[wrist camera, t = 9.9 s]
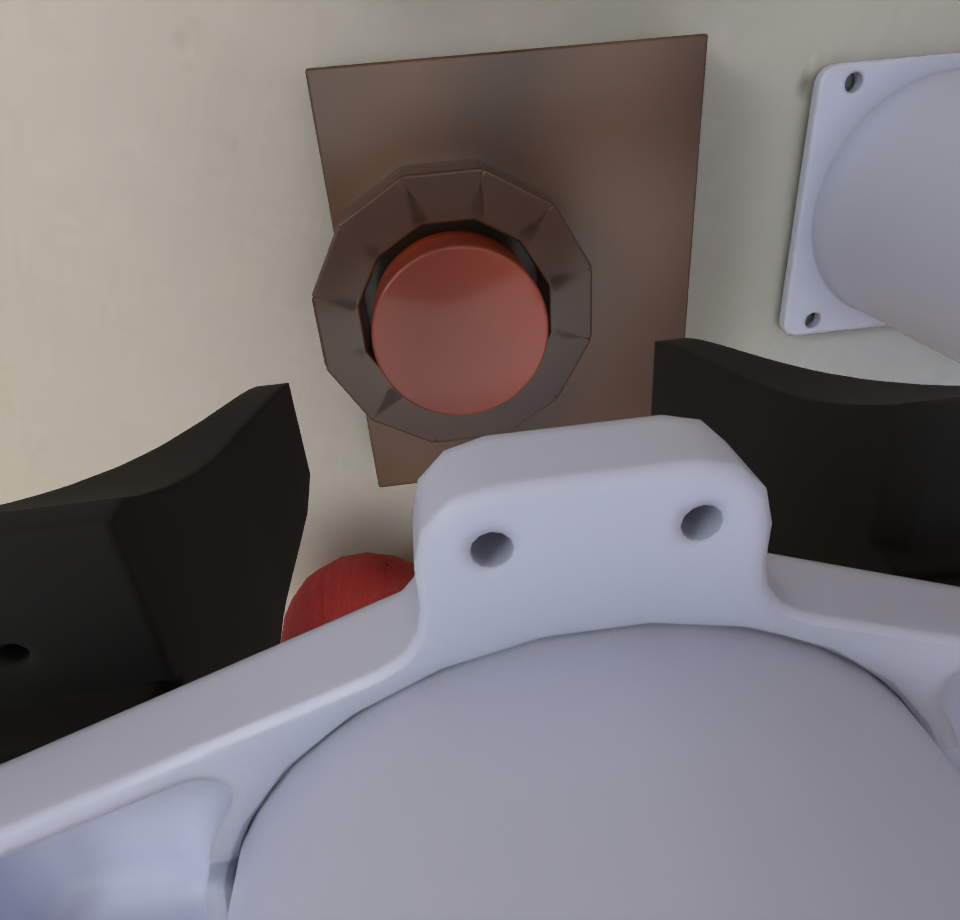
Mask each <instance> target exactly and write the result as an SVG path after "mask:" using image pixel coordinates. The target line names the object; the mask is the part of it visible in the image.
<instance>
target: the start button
mask: <svg viewBox="0 0 960 920" xmlns="http://www.w3.org/2000/svg"><path fill="white" fill-rule="evenodd" d="M548 327H549V326H548V315H547V311H546V307H545V303H544V300H543V298H542V295H541V293H540V291H539V289H538V288H537V286H536V284H535V282H534V281H533V279H532V278H531V276H530V275H529V273H528V271H527V270H526V268H525V267H524V265H523V264H522V263H521V262H520V260H519V259H518V258H517V257H516V256H515V255H514V254H513V253H512V252H511V251H510V250H509V249H508V248H506V247H505V246H504V245H502V244H501V243H499V242H497V241H495V240H494V239H492V238H489V237H487V236H484V235H482V234H478V233H474V232H468V231H445V232H439V233H435V234H432V235H429V236H426V237H424V238H421V239H419V240H417V241H415V242H414V243H412V244H411V245H409V246H407V247H406V248H405V249H404V250H402V251H401V252H400V253H399V254H398V255H397V256H396V257H395V258H394V259H393V260H392V261H391V263H390V264H389V265H388V267H387V268H386V270H385V271H384V273H383V275H382V277H381V279H380V281H379V284H378V287H377V290H376V293H375V299H374V306H373V317H372V333H371V335H372V345H373V350H374V354H375V357H376V360H377V363H378V365H379V367H380V369H381V371H382V373H383V375H384V376H385V378H386V379H387V380H388V382H389V383H390V385H391V386H392V387H393V388H394V389H395V390H396V391H397V392H398V393H399V394H400V395H402V396H403V397H404V398H405V399H407V400H408V401H410V402H412V403H413V404H415V405H417V406H419V407H421V408H423V409H426V410H428V411H432V412H435V413H439V414H445V415H456V416H460V415H472V414H477V413H481V412H485V411H488V410H491V409H493V408H496V407H498V406H500V405H502V404H503V403H505V402H507V401H509V400H510V399H511V398H513V397H514V396H515V395H517V394H518V393H519V392H520V391H521V390H522V389H523V388H524V387H525V386H526V385H527V384H528V382H529V381H530V380H531V379H532V378H533V376H534V374H535V373H536V371H537V370H538V368H539V366H540V364H541V361H542V359H543V356H544V353H545V350H546V346H547V340H548Z"/></svg>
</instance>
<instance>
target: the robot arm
mask: <svg viewBox="0 0 960 920" xmlns="http://www.w3.org/2000/svg"><path fill="white" fill-rule="evenodd" d="M851 73H853V74H854V76H855V82H854V85H853V87H852V88H851V89H850V90H849V91H847V90H846V89H845V81H846V79H847V77H848V76H849V75H850V74H851ZM812 313H814V318H813V320H812V321H811V322H810V323H808V324H805V320H806V318H807V317H808V316H809V315H810V314H812ZM886 325H889V326H891V327H892V328H894V329H896V330H898V331H900V332H902V333H904V334H906V335H908V336H910V337H911V338H913V339H915V340H917V341H919V342H921V343H923V344H925V345H927V346H928V347H930V348H932V349H934V350H936V351H938V352H940V353H942V354H944V355H946V356H947V357H949V358H951V359H953V360H955V361H957V362H959V363H960V52H956V53H945V54H934V55H923V56H912V57H901V58H890V59H879V60H868V61H857V62H846V63H835V64H831V65H828V66H826V67H824V68H823V69H822V70H821V71H820V72H819V74H818V75H817V76H816V78H815V82H814V85H813V91H812V98H811V105H810V112H809V118H808V125H807V132H806V139H805V146H804V153H803V159H802V166H801V173H800V180H799V187H798V194H797V200H796V207H795V214H794V221H793V228H792V235H791V241H790V248H789V255H788V262H787V269H786V276H785V282H784V289H783V296H782V303H781V310H780V317H779V326H780V328H781V330H783V331H784V332H786V333H787V334H789V335H792V336H798V335H807V334H815V333H824V332H833V331H842V330H851V329H860V328H869V327H878V326H886ZM309 483H310V472H309V468H308V463H307V459H306V455H305V451H304V446H303V442H302V438H301V434H300V429H299V425H298V421H297V417H296V412H295V408H294V404H293V400H292V395H291V391H290V387H289V383H284V384H275V385H266V386H257V387H254V388H252V389H250V390H248V391H246V392H244V393H243V394H241V395H239V396H238V397H236V398H235V399H233V400H232V401H230V402H229V403H227V404H226V405H224V406H223V407H221V408H220V409H219V410H217V411H216V412H214V413H213V414H211V415H210V416H208V417H207V418H205V419H204V420H202V421H201V422H199V423H198V424H196V425H194V426H193V427H191V428H190V429H188V430H186V431H185V432H183V433H181V434H180V435H178V436H177V437H175V438H173V439H172V440H170V441H168V442H167V443H165V444H163V445H161V446H160V447H158V448H156V449H154V450H152V451H150V452H148V453H146V454H144V455H142V456H140V457H138V458H136V459H134V460H132V461H130V462H127V463H125V464H123V465H121V466H119V467H116V468H114V469H111V470H109V471H106V472H103V473H101V474H98V475H95V476H93V477H90V478H88V479H85V480H82V481H80V482H77V483H74V484H72V485H69V486H66V487H63V488H60V489H56V490H53V491H50V492H47V493H43V494H40V495H36V496H33V497H29V498H25V499H22V500H18V501H15V502H11V503H6V504H2V505H0V920H960V386H943V385H920V384H907V383H895V382H884V381H875V380H866V379H859V378H853V377H847V376H841V375H835V374H829V373H824V372H819V371H814V370H809V369H805V368H801V367H797V366H793V365H789V364H785V363H781V362H777V361H774V360H770V359H766V358H763V357H759V356H756V355H753V354H749V353H746V352H743V351H739V350H736V349H733V348H729V347H726V346H722V345H719V344H715V343H711V342H707V341H703V340H699V339H693V338H680V339H672V340H663V341H655V347H654V367H653V386H652V405H651V416H647V417H638V418H630V419H622V420H613V421H605V422H597V423H588V424H580V425H571V426H563V427H555V428H546V429H538V430H529V431H521V432H513V433H504V434H496V435H488V436H483V437H480V438H477V439H474V440H472V441H469V442H466V443H463V444H461V445H458V446H455V447H452V448H450V449H447V450H444V451H443V452H442V453H441V454H440V456H439V457H438V458H437V459H436V460H435V461H434V462H433V463H432V464H431V466H430V467H429V468H428V469H427V470H426V471H425V472H424V473H423V474H422V476H421V477H420V478H419V479H418V481H417V487H416V493H415V499H414V505H413V512H412V526H413V553H414V571H415V575H414V577H413V578H412V580H411V581H410V582H409V583H408V584H407V586H406V587H405V588H404V589H403V590H402V591H400V592H398V593H396V594H393V595H391V596H389V597H386V598H384V599H382V600H379V601H377V602H375V603H373V604H370V605H368V606H366V607H363V608H361V609H359V610H356V611H354V612H352V613H349V614H347V615H345V616H343V617H340V618H338V619H336V620H333V621H331V622H329V623H326V624H324V625H322V626H319V627H317V628H315V629H312V630H310V631H308V632H306V633H303V634H301V635H299V636H296V637H294V638H292V639H289V640H287V641H285V642H282V643H281V633H282V624H283V616H284V611H285V605H286V600H287V595H288V591H289V587H290V583H291V579H292V575H293V571H294V567H295V563H296V559H297V555H298V551H299V547H300V542H301V538H302V534H303V530H304V526H305V521H306V517H307V511H308V499H309Z"/></svg>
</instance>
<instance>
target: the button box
mask: <svg viewBox="0 0 960 920" xmlns="http://www.w3.org/2000/svg"><path fill="white" fill-rule="evenodd" d="M707 39H708V36H707V34H695V35H683V36H672V37H660V38H649V39H638V40H626V41H615V42H603V43H592V44H581V45H569V46H558V47H546V48H535V49H524V50H512V51H501V52H489V53H478V54H467V55H455V56H444V57H432V58H421V59H410V60H398V61H387V62H375V63H364V64H352V65H341V66H330V67H318V68H307V69H306V71H305V73H306V78H307V84H308V90H309V95H310V101H311V107H312V112H313V118H314V123H315V129H316V135H317V140H318V146H319V152H320V157H321V163H322V169H323V174H324V180H325V186H326V191H327V197H328V203H329V208H330V214H331V219H332V225H333V231H334V236H333V239H332V241H331V244H330V247H329V249H328V252H327V255H326V258H325V260H324V263H323V266H322V269H321V271H320V274H319V277H318V280H317V282H316V285H315V288H314V291H313V293H312V296H313V298H312V302H313V307H314V312H315V317H316V322H317V327H318V332H319V337H320V342H321V347H322V352H323V357H324V362H325V365H326V367H327V370H328V372H329V373H330V374H331V375H332V376H333V377H334V378H335V379H336V381H337V382H338V383H339V384H340V385H341V386H342V387H343V388H344V390H345V391H346V392H347V393H348V394H349V395H350V396H351V397H352V399H353V400H354V401H355V402H356V403H357V404H358V405H359V406H360V408H361V409H362V410H363V411H364V412H365V413H366V417H367V423H368V428H369V434H370V440H371V445H372V451H373V457H374V462H375V468H376V473H377V479H378V485H379V487H386V486H394V485H402V484H411V483H417V481H418V479H419V478H420V477H421V476H422V474H423V473H424V472H425V471H426V470H427V469H428V468H429V467H430V466H431V464H432V463H433V462H434V461H435V460H436V459H437V458H438V457H439V456H440V454H441V453H442V452H443V451H444V450H447V449H450V448H452V447H455V446H458V445H461V444H463V443H466V442H469V441H472V440H474V439H477V438H480V437H483V436H488V435H496V434H504V433H513V432H521V431H529V430H538V429H546V428H555V427H563V426H571V425H580V424H588V423H597V422H605V421H613V420H622V419H630V418H638V417H647V416H651V405H652V386H653V367H654V347H655V341H663V340H672V339H680V338H685V327H686V314H687V301H688V288H689V274H690V261H691V248H692V235H693V222H694V209H695V196H696V183H697V170H698V157H699V144H700V131H701V117H702V104H703V91H704V78H705V65H706V52H707ZM445 231H468V232H474V233H478V234H482V235H484V236H487V237H489V238H492V239H494V240H495V241H497V242H499V243H501V244H502V245H504V246H505V247H506V248H508V249H509V250H510V251H511V252H512V253H513V254H514V255H515V256H516V257H517V258H518V259H519V260H520V262H521V263H522V264H523V265H524V267H525V268H526V270H527V271H528V273H529V275H530V276H531V278H532V279H533V281H534V282H535V284H536V286H537V288H538V289H539V291H540V293H541V295H542V298H543V300H544V303H545V307H546V311H547V315H548V326H549V327H548V340H547V346H546V350H545V353H544V356H543V359H542V361H541V364H540V366H539V368H538V370H537V371H536V373H535V374H534V376H533V378H532V379H531V380H530V381H529V382H528V384H527V385H526V386H525V387H524V388H523V389H522V390H521V391H520V392H519V393H518V394H517V395H515V396H514V397H513V398H511V399H510V400H509V401H507V402H505V403H503V404H502V405H500V406H498V407H496V408H493V409H491V410H488V411H485V412H481V413H477V414H472V415H460V416H456V415H445V414H439V413H435V412H432V411H428V410H426V409H423V408H421V407H419V406H417V405H415V404H413V403H412V402H410V401H408V400H407V399H405V398H404V397H403V396H402V395H400V394H399V393H398V392H397V391H396V390H395V389H394V388H393V387H392V386H391V385H390V383H389V382H388V380H387V379H386V378H385V376H384V375H383V373H382V371H381V369H380V367H379V365H378V363H377V360H376V357H375V354H374V350H373V345H372V335H371V333H372V317H373V306H374V299H375V293H376V290H377V287H378V284H379V281H380V279H381V277H382V275H383V273H384V271H385V270H386V268H387V267H388V265H389V264H390V263H391V261H392V260H393V259H394V258H395V257H396V256H397V255H398V254H399V253H400V252H401V251H402V250H404V249H405V248H406V247H407V246H409V245H411V244H412V243H414V242H415V241H417V240H419V239H421V238H424V237H426V236H429V235H432V234H435V233H439V232H445Z"/></svg>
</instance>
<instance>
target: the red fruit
mask: <svg viewBox="0 0 960 920" xmlns="http://www.w3.org/2000/svg"><path fill="white" fill-rule="evenodd" d="M414 575H415V571H414V564H412V563H410V562H407V561H405V560H403V559H400V558H398V557H395V556H390V555H382V554H375V553H362V554H356V555H349V556H343V557H340V558H338V559H337V560H335V561H333V562H331V563H329V564H328V565H326V566H324V567H322V568H320V569H319V570H317V571H316V572H315V573H313V574H312V575H310V576H309V577H308V578H307V579H306V580H305V582H304V583H303V584H302V586H301V587H300V589H299V590H298V592H297V593H296V594H295V596H294V597H293V599H292V601H291V603H290V605H289V608H288V610H287V613H286V615H285V618H284V625H283V631H282V637H281V643H282V642H285V641H287V640H289V639H292V638H294V637H296V636H299V635H301V634H303V633H306V632H308V631H310V630H312V629H315V628H317V627H319V626H322V625H324V624H326V623H329V622H331V621H333V620H336V619H338V618H340V617H343V616H345V615H347V614H349V613H352V612H354V611H356V610H359V609H361V608H363V607H366V606H368V605H370V604H373V603H375V602H377V601H379V600H382V599H384V598H386V597H389V596H391V595H393V594H396V593H398V592H400V591H402V590H403V589H404V588H405V587H406V586H407V584H408V583H409V582H410V581H411V580H412V578H413V577H414Z"/></svg>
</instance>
